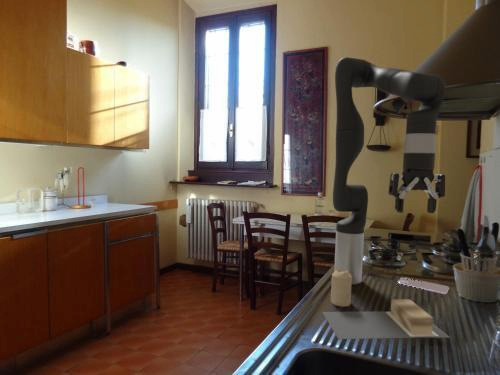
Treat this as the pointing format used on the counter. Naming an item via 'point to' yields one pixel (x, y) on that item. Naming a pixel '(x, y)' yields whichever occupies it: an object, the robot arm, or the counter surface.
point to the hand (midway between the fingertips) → (415, 212)
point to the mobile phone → (424, 285)
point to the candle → (341, 288)
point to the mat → (373, 326)
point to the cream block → (411, 316)
